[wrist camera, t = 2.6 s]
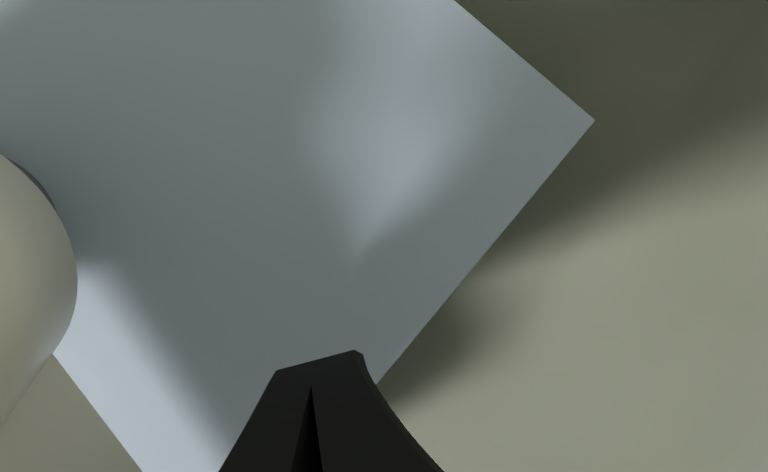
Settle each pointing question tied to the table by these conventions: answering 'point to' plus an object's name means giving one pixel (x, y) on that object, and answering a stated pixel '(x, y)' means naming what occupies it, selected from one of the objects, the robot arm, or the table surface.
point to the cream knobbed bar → (42, 344)
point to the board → (262, 188)
